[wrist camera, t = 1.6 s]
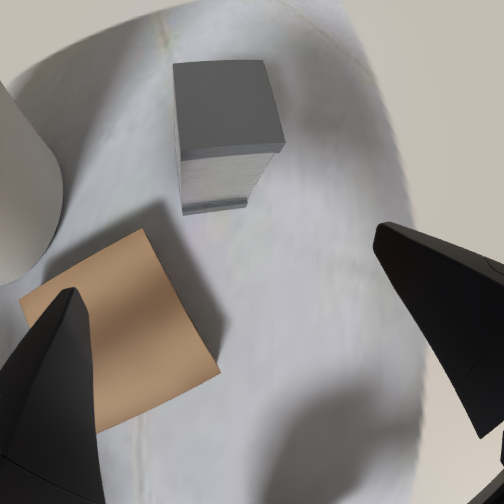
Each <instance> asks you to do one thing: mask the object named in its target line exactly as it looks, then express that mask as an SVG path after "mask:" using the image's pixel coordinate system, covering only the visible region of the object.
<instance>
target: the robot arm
mask: <svg viewBox="0 0 504 504" xmlns="http://www.w3.org/2000/svg"><path fill="white" fill-rule="evenodd" d="M373 251H374V253H375V255H376V257H377V259H378V260H379V262H380V264H381V266H382V267H383V269H384V271H385V273H386V275H387V276H388V278H389V280H390V282H391V284H392V286H393V287H394V289H395V291H396V292H397V294H398V295H399V297H400V298H401V300H402V301H403V303H404V304H405V306H406V308H407V309H408V311H409V312H410V314H411V315H412V317H413V318H414V320H415V322H416V323H417V325H418V326H419V328H420V330H421V331H422V333H423V335H424V336H425V338H426V340H427V341H428V343H429V345H430V346H431V348H432V350H433V351H434V353H435V355H436V356H437V358H438V360H439V362H440V363H441V365H442V367H443V369H444V370H445V372H446V374H447V376H448V378H449V379H450V381H451V383H452V385H453V387H454V388H455V391H456V393H457V395H458V397H459V399H460V400H461V402H462V404H463V406H464V408H465V410H466V412H467V414H468V416H469V418H470V420H471V422H472V425H473V427H474V429H475V431H476V433H477V435H478V437H479V438H480V439H482V438H483V437H484V436H485V435H487V434H488V433H489V432H491V431H492V430H493V429H494V428H495V427H497V426H498V425H499V424H500V423H502V422H503V421H504V264H502V263H499V262H497V261H494V260H492V259H489V258H487V257H485V256H484V257H483V256H482V255H479V254H477V253H475V252H472V251H469V250H467V249H464V248H462V247H459V246H456V245H454V244H451V243H449V242H446V241H443V240H441V239H438V238H435V237H432V236H429V235H427V234H424V233H421V232H418V231H416V230H413V229H410V228H407V227H404V226H401V225H398V224H395V223H392V222H384V223H380V224H378V226H377V228H376V233H375V238H374V242H373ZM500 461H501V463H502V464H503V466H504V431H503V438H502V450H501V459H500ZM0 504H106V502H105V497H104V492H103V486H102V479H101V473H100V465H99V457H98V449H97V439H96V427H95V412H94V388H93V359H92V349H91V337H90V323H89V313H88V310H87V307H86V305H85V303H84V301H83V299H82V297H81V295H80V293H79V291H78V289H77V288H76V287H70V288H65V289H62V290H61V291H60V292H59V294H58V295H57V296H56V297H55V298H54V300H53V301H52V302H51V303H50V304H49V306H48V307H47V308H46V309H45V311H44V312H43V313H42V314H41V316H40V317H39V318H38V319H37V321H36V322H35V323H34V325H33V326H32V327H31V328H30V330H29V331H28V332H27V334H26V335H25V336H24V338H23V339H22V340H21V342H20V343H19V344H18V346H17V347H16V349H15V350H14V351H13V353H12V354H11V356H10V357H9V358H8V360H7V361H6V363H5V364H4V366H3V367H2V369H1V370H0ZM467 504H504V469H503V470H502V471H501V472H500V473H499V474H498V475H497V477H496V478H494V479H493V480H492V481H491V483H489V484H488V485H487V486H486V487H485V488H484V489H483V490H482V491H481V492H480V493H479V494H478V495H476V497H474V498H473V499H472V500H471V501H470V502H469V503H467Z"/></svg>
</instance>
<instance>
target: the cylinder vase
mask: <svg viewBox="0 0 504 504" xmlns="http://www.w3.org/2000/svg"><path fill="white" fill-rule="evenodd" d="M62 202H63V180H62V174H61V170H60V167H59V164H58V161H57V159H56V157H55V155H54V154H53V152H52V151H51V150H50V148H49V147H48V146H47V144H46V143H45V142H44V141H43V139H42V138H41V137H40V135H39V134H38V133H37V131H36V130H35V129H34V127H33V126H32V125H31V123H30V122H29V121H28V119H27V118H26V117H25V115H24V114H23V113H22V111H21V110H20V108H19V107H18V106H17V104H16V103H15V101H14V100H13V99H12V97H11V96H10V94H9V93H8V91H7V90H6V88H5V87H4V86H3V84H2V83H1V81H0V285H5V284H8V283H11V282H13V281H15V280H17V279H19V278H20V277H22V276H23V275H25V274H26V273H27V272H28V271H29V270H30V269H32V268H33V266H34V265H35V264H36V263H37V262H38V261H39V260H40V258H41V257H42V255H43V254H44V252H45V251H46V249H47V248H48V246H49V244H50V242H51V240H52V238H53V236H54V233H55V231H56V228H57V225H58V222H59V218H60V214H61V209H62Z"/></svg>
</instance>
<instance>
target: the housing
mask: <svg viewBox="0 0 504 504" xmlns="http://www.w3.org/2000/svg"><path fill="white" fill-rule="evenodd" d="M173 92H174V129H175V153H176V163H177V172H178V181H179V189H180V197H181V205H182V213H183V216H185V215H192V214H199V213H207V212H214V211H222V210H229V209H237V208H245V207H246V205H247V204H248V203H247V198H248V197H249V195H250V193H251V192H252V190H253V188H254V187H255V185H256V183H257V181H258V180H259V178H260V176H261V175H262V173H263V171H264V170H265V168H266V166H267V165H268V163H269V161H270V160H271V158H272V156H273V155H274V153H279V152H280V151H281V149H282V148H283V146H284V144H285V139H284V135H283V131H282V127H281V123H280V119H279V116H278V112H277V108H276V105H275V101H274V97H273V94H272V90H271V87H270V83H269V80H268V76H267V73H266V70H265V66H264V63H263V60H221V61H201V62H187V63H176V64H173Z"/></svg>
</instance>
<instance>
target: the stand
mask: <svg viewBox="0 0 504 504" xmlns="http://www.w3.org/2000/svg"><path fill="white" fill-rule="evenodd" d="M70 287H76V288H77V289H78V291H79V293H80V295H81V297H82V299H83V301H84V303H85V305H86V307H87V310H88V313H89V323H90V337H91V349H92V359H93V388H94V412H95V427H96V434H97V433H99V432H102V431H104V430H106V429H109V428H111V427H113V426H116V425H118V424H120V423H122V422H125V421H127V420H129V419H131V418H133V417H135V416H138V415H140V414H142V413H144V412H146V411H148V410H150V409H152V408H154V407H157V406H159V405H161V404H163V403H165V402H167V401H169V400H171V399H173V398H175V397H177V396H179V395H181V394H183V393H184V392H186V391H188V390H190V389H192V388H194V387H196V386H198V385H200V384H202V383H203V382H205V381H207V380H209V379H211V378H213V377H215V376H216V375H218V374H220V373H221V371H220V369H219V367H218V365H217V363H216V361H215V360H214V358H213V356H212V355H211V353H210V351H209V350H208V348H207V346H206V345H205V343H204V341H203V339H202V338H201V336H200V334H199V333H198V331H197V329H196V327H195V326H194V324H193V322H192V320H191V319H190V317H189V315H188V313H187V311H186V310H185V308H184V306H183V304H182V302H181V300H180V299H179V297H178V295H177V293H176V291H175V289H174V287H173V285H172V284H171V282H170V280H169V278H168V276H167V274H166V272H165V270H164V268H163V266H162V264H161V262H160V260H159V258H158V256H157V254H156V252H155V250H154V248H153V246H152V244H151V242H150V240H149V238H148V236H147V235H146V233H145V232H144V230H143V228H141V229H139V230H137V231H136V232H134V233H132V234H130V235H128V236H126V237H124V238H123V239H121V240H119V241H117V242H115V243H113V244H112V245H110V246H108V247H106V248H104V249H103V250H101V251H99V252H97V253H95V254H94V255H92V256H90V257H88V258H87V259H85V260H83V261H81V262H80V263H78V264H76V265H74V266H73V267H71V268H69V269H68V270H66V271H64V272H63V273H61V274H59V275H58V276H56V277H54V278H53V279H51V280H49V281H48V282H46V283H45V284H43V285H41V286H40V287H38V288H36V289H35V290H33V291H32V292H30V293H29V294H27V295H25V296H24V297H22V298H21V299H19V302H20V305H21V307H22V310H23V312H24V315H25V317H26V320H27V322H28V324H29V327H30V328H31V327H32V326H33V325H34V323H35V322H36V321H37V319H38V318H39V317H40V316H41V314H42V313H43V312H44V311H45V309H46V308H47V307H48V306H49V304H50V303H51V302H52V301H53V300H54V298H55V297H56V296H57V295H58V294H59V292H60V291H61V290H62V289H65V288H70Z"/></svg>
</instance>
